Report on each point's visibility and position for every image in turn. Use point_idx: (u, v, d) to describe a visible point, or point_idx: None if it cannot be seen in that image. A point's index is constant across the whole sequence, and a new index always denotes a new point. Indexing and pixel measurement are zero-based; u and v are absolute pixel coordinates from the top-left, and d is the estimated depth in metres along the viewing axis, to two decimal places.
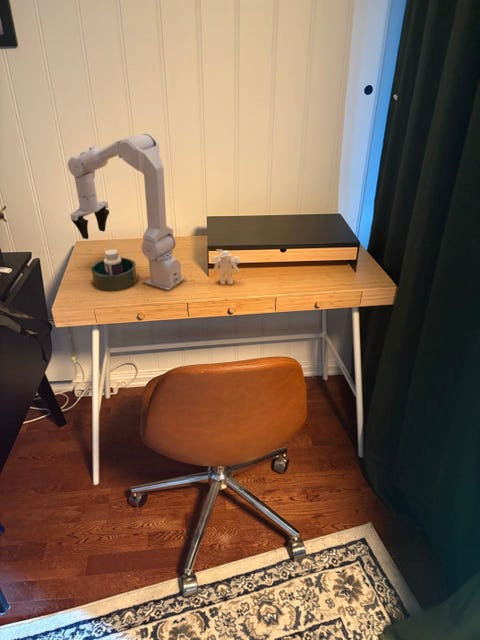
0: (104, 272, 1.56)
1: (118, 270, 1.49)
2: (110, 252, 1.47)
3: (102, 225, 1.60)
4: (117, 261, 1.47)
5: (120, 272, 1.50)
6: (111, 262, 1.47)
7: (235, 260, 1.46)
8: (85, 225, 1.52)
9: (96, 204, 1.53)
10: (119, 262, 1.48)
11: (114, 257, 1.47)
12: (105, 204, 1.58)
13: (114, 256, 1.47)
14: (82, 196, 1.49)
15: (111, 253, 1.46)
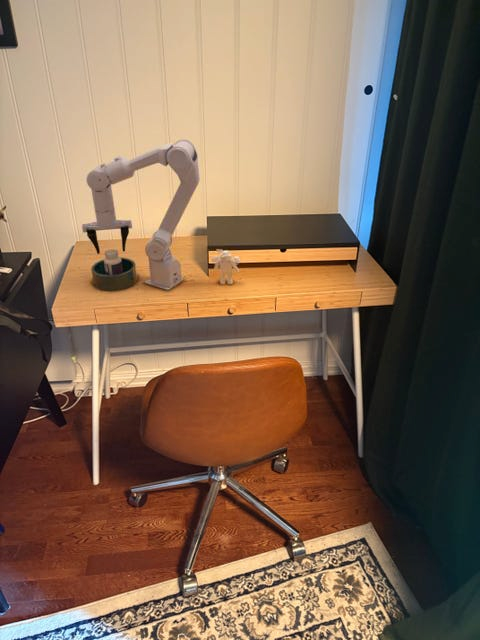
0: (104, 272, 1.56)
1: (118, 270, 1.49)
2: (110, 252, 1.47)
3: (122, 244, 1.47)
4: (117, 261, 1.47)
5: (120, 272, 1.50)
6: (111, 262, 1.47)
7: (235, 260, 1.46)
8: (93, 240, 1.43)
9: (109, 221, 1.41)
10: (119, 262, 1.48)
11: (114, 257, 1.47)
12: (127, 224, 1.44)
13: (114, 256, 1.47)
14: (104, 211, 1.38)
15: (111, 253, 1.46)
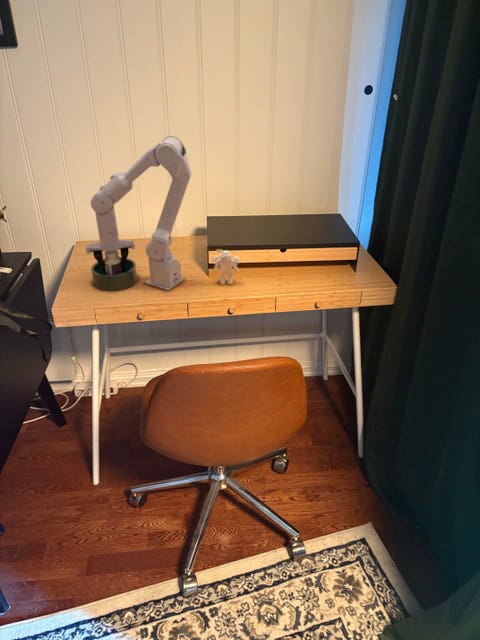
0: None
1: (118, 270, 1.49)
2: (110, 252, 1.47)
3: (122, 265, 1.50)
4: (117, 261, 1.47)
5: (120, 272, 1.50)
6: (111, 262, 1.47)
7: (235, 260, 1.46)
8: (99, 260, 1.46)
9: (112, 243, 1.43)
10: (119, 262, 1.48)
11: (114, 257, 1.47)
12: (130, 244, 1.47)
13: (114, 256, 1.47)
14: (108, 233, 1.41)
15: (111, 253, 1.46)
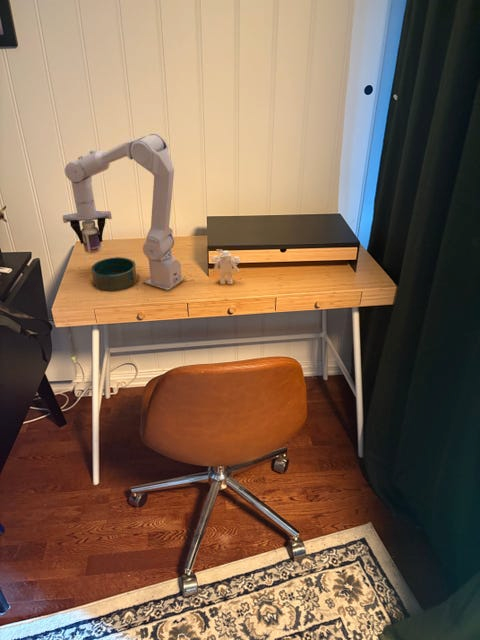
0: (104, 272, 1.56)
1: (96, 241, 1.51)
2: (87, 222, 1.50)
3: (99, 235, 1.52)
4: (94, 231, 1.50)
5: (97, 242, 1.52)
6: (87, 232, 1.49)
7: (235, 260, 1.46)
8: (76, 230, 1.48)
9: (88, 212, 1.46)
10: (96, 232, 1.50)
11: (91, 227, 1.49)
12: (107, 215, 1.49)
13: (91, 226, 1.49)
14: (81, 202, 1.43)
15: (88, 223, 1.49)
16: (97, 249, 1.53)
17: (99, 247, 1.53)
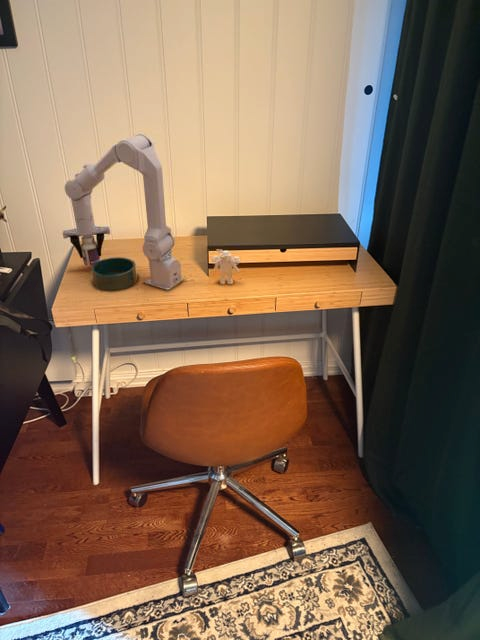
0: (104, 272, 1.56)
1: (95, 255, 1.56)
2: (87, 237, 1.54)
3: (98, 250, 1.56)
4: (93, 246, 1.54)
5: (96, 257, 1.56)
6: (87, 247, 1.53)
7: (235, 260, 1.46)
8: (76, 245, 1.52)
9: (87, 228, 1.50)
10: (95, 247, 1.55)
11: (90, 242, 1.53)
12: (105, 230, 1.53)
13: (90, 241, 1.53)
14: (80, 219, 1.48)
15: (87, 238, 1.53)
16: None
17: None
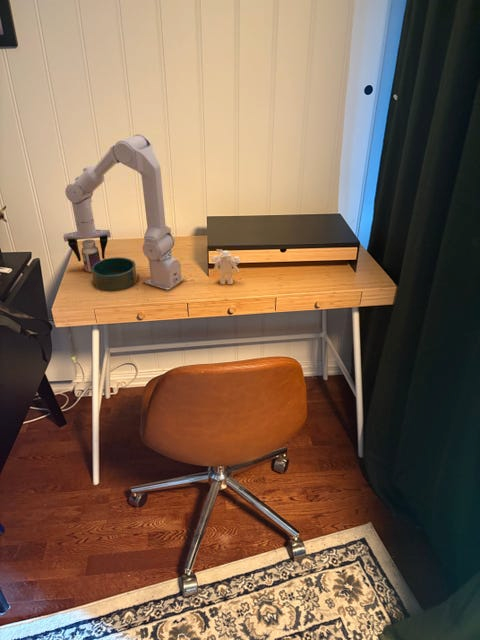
0: (104, 272, 1.56)
1: (95, 260, 1.56)
2: (88, 241, 1.55)
3: None
4: (94, 250, 1.55)
5: (97, 261, 1.57)
6: (88, 252, 1.54)
7: (235, 260, 1.46)
8: (74, 248, 1.53)
9: (88, 231, 1.50)
10: (96, 251, 1.56)
11: (91, 247, 1.54)
12: (106, 233, 1.54)
13: (91, 246, 1.54)
14: (81, 222, 1.48)
15: (88, 243, 1.54)
16: None
17: None
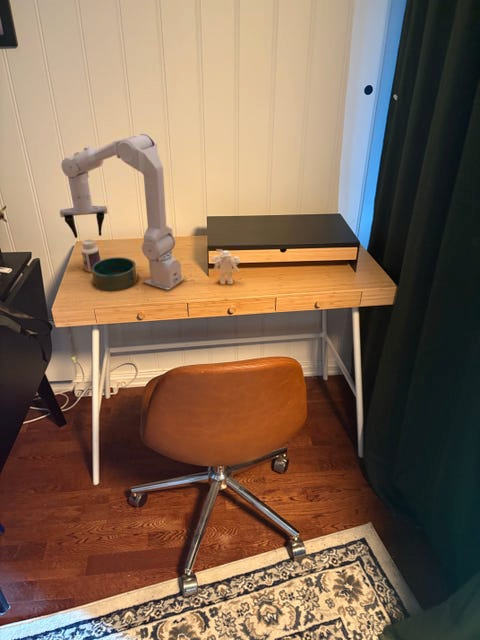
0: (104, 272, 1.56)
1: (95, 260, 1.56)
2: (88, 241, 1.55)
3: None
4: (94, 250, 1.55)
5: (97, 261, 1.57)
6: (88, 252, 1.54)
7: (235, 260, 1.46)
8: (70, 224, 1.52)
9: (85, 207, 1.50)
10: (96, 251, 1.56)
11: (91, 247, 1.54)
12: (103, 209, 1.53)
13: (91, 246, 1.54)
14: (76, 197, 1.48)
15: (88, 243, 1.54)
16: None
17: None
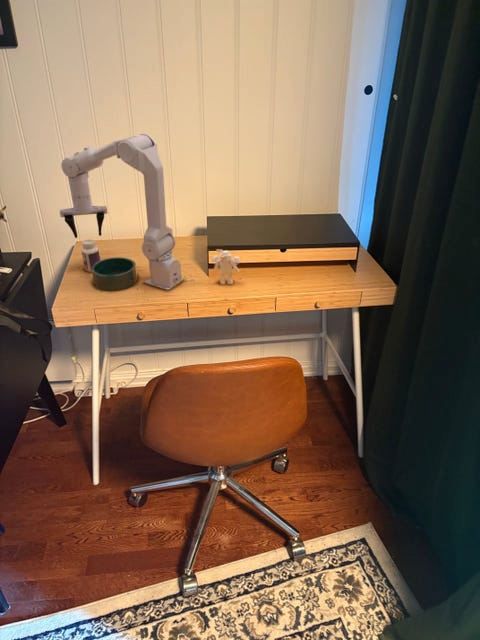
0: (104, 272, 1.56)
1: (95, 260, 1.56)
2: (88, 241, 1.55)
3: None
4: (94, 250, 1.55)
5: (97, 261, 1.57)
6: (88, 252, 1.54)
7: (235, 260, 1.46)
8: (70, 224, 1.52)
9: (85, 207, 1.50)
10: (96, 251, 1.56)
11: (91, 247, 1.54)
12: (103, 209, 1.53)
13: (91, 246, 1.54)
14: (76, 197, 1.48)
15: (88, 243, 1.54)
16: None
17: None
